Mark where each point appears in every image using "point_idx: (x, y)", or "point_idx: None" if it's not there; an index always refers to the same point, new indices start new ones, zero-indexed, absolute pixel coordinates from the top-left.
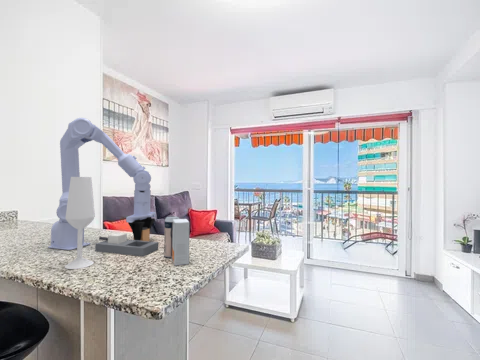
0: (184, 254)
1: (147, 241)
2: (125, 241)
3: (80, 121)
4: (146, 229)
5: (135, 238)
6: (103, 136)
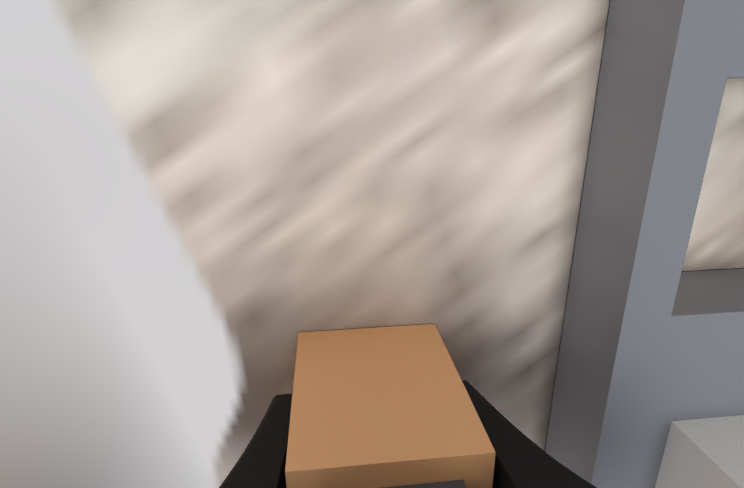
0: None
1: (671, 162)
2: (696, 415)
3: None
4: (377, 471)
5: None
6: None
